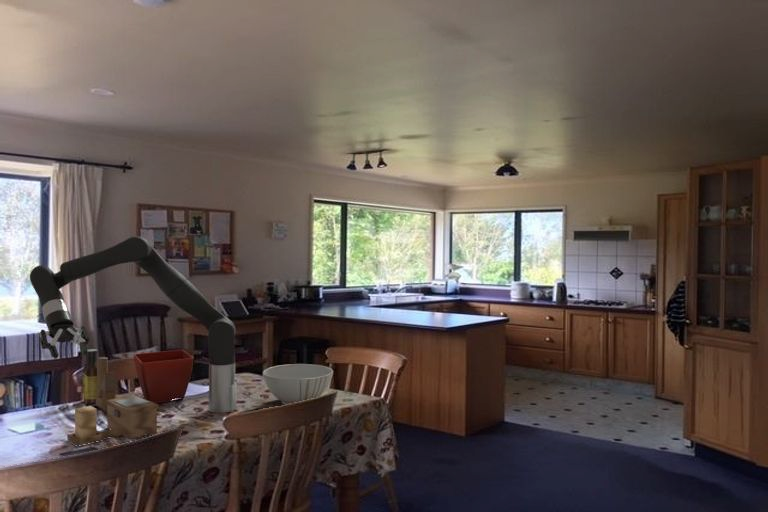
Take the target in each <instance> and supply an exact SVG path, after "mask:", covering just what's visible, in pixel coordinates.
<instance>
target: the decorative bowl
mask: <svg viewBox="0 0 768 512" xmlns="http://www.w3.org/2000/svg"><path fill="white" fill-rule="evenodd" d="M333 374H334V370H333V369H332V368H331V367H329V366H325V365H321V364H308V363H293V364H289V363H288V364H282V365H281V364H280V365H274V366H271V367H268V368H266V369H263V371H262V378H263V379H264V383H265V384H266V385H265V386H266V387H267V389H268V390H269V392H270V393H271V394H272V395H273V396H274V397H275V398H276V399H278V400H279V401H281V404H282V405H284V404H289V403H294V402H299V401H303V400H307V399H311V398H316V397H318V398H320V397H321V396H322V394H323V393H324V392H326V390H327V388H328V387H329V385H330V383H331V381H332V378H333ZM316 399H317V398H316Z"/></svg>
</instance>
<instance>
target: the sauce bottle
mask: <svg viewBox="0 0 768 512" xmlns="http://www.w3.org/2000/svg"><path fill="white" fill-rule="evenodd" d="M85 356H86V358H85V359H86V360H85V363H84V367H83V370H82V398H83V402H84V403H85V404H93V403H94V404H96V396H97V358H98V349H96V348H91V349H88V350H87V353H86V354H85Z"/></svg>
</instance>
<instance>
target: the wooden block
mask: <svg viewBox="0 0 768 512" xmlns="http://www.w3.org/2000/svg"><path fill="white" fill-rule="evenodd" d="M110 399H116V371H110V372H109V358H108V357H106V356H102V357H101V356H100V357H97V396H96V402H95V406H97V407H98V408H100V409H101V410H103V411H104V412H106V413H107V404H106V400H110Z"/></svg>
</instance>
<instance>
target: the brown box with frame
mask: <svg viewBox="0 0 768 512" xmlns="http://www.w3.org/2000/svg"><path fill="white" fill-rule="evenodd" d="M106 404H107V412H106V417H107V418H106V419H107V420H106V426H107V429H108V428H109V429H108V430H107V429H106V430H103V431H98V430H97V435H96V436H91V437H87V438H82V439H78V438H76V437H75V432H74V433H67V435H66V436H67V439H66V440H68V441H70V442H72V443H73V444H75V445H77V446H79V445H83V444H88V443H92V442H96V441H101V440H104V441H105V439H104V438H108V437H112V438H115V437H114V436H116V437H120V436H119V435H121V436H122V435H123V436H122V437H124V436H125V437H124V438H126V437H127V438H126V439H128V440H132V439H131V438H133V439H136V438H135V437H137V438H141V437H144V436H143V435H145V434H150V435H153V434H156V433H158V429H157V428H158V414H157V413H158V409H159V403H153V402H151V401H148V400H146V399H145V398H143V397H141V396H139V395H135V394H133V395H128V396H122V397H117V398H116V397H115V399H110V400H106ZM110 429H111V430H110ZM140 436H141V437H140ZM145 436H146V435H145ZM108 439H109V438H108ZM68 441H67V442H68ZM70 442H69V443H70ZM101 442H102V441H101ZM72 443H71V444H72ZM73 444H72V445H73ZM75 445H74V446H75ZM88 445H89V444H88ZM77 446H76V447H77Z"/></svg>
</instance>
